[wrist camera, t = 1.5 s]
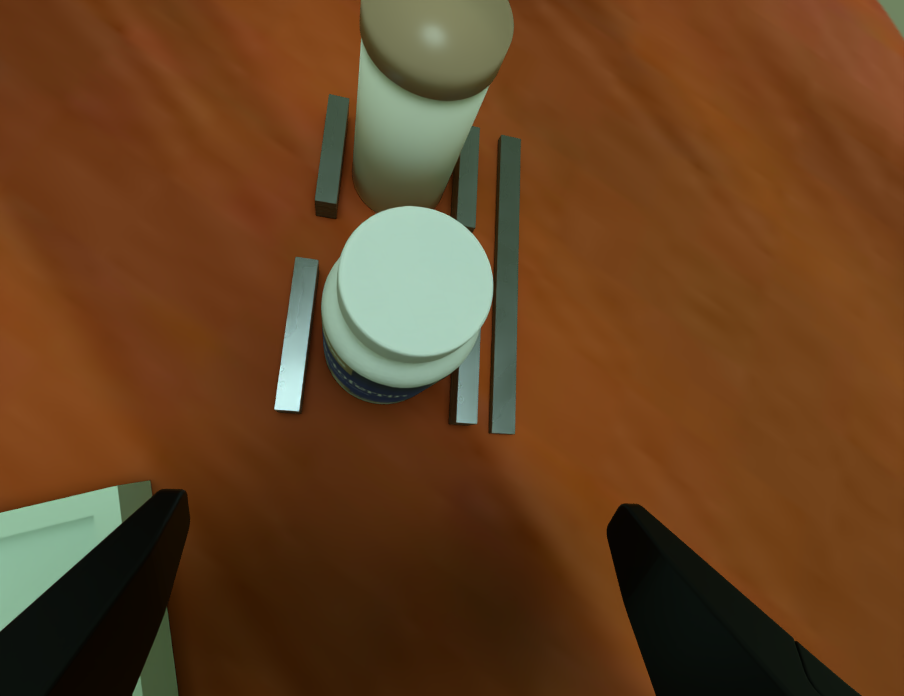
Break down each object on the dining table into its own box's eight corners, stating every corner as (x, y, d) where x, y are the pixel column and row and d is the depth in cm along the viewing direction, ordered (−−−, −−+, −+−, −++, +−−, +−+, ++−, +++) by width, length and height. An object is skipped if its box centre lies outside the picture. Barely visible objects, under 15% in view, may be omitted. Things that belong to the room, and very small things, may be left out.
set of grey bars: (511, 434, 23) (522, 433, 22) (277, 418, 21) (273, 416, 20) (517, 144, 27) (527, 127, 26) (321, 101, 25) (320, 80, 23)
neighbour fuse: (455, 216, 25) (530, 73, 16) (361, 227, 24) (380, 75, 14) (433, 132, 26) (492, -53, 17) (341, 137, 25) (347, -63, 15)
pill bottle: (299, 363, 22) (273, 295, 12) (367, 271, 23) (390, 151, 14) (401, 428, 22) (451, 412, 13) (460, 334, 24) (543, 259, 15)
